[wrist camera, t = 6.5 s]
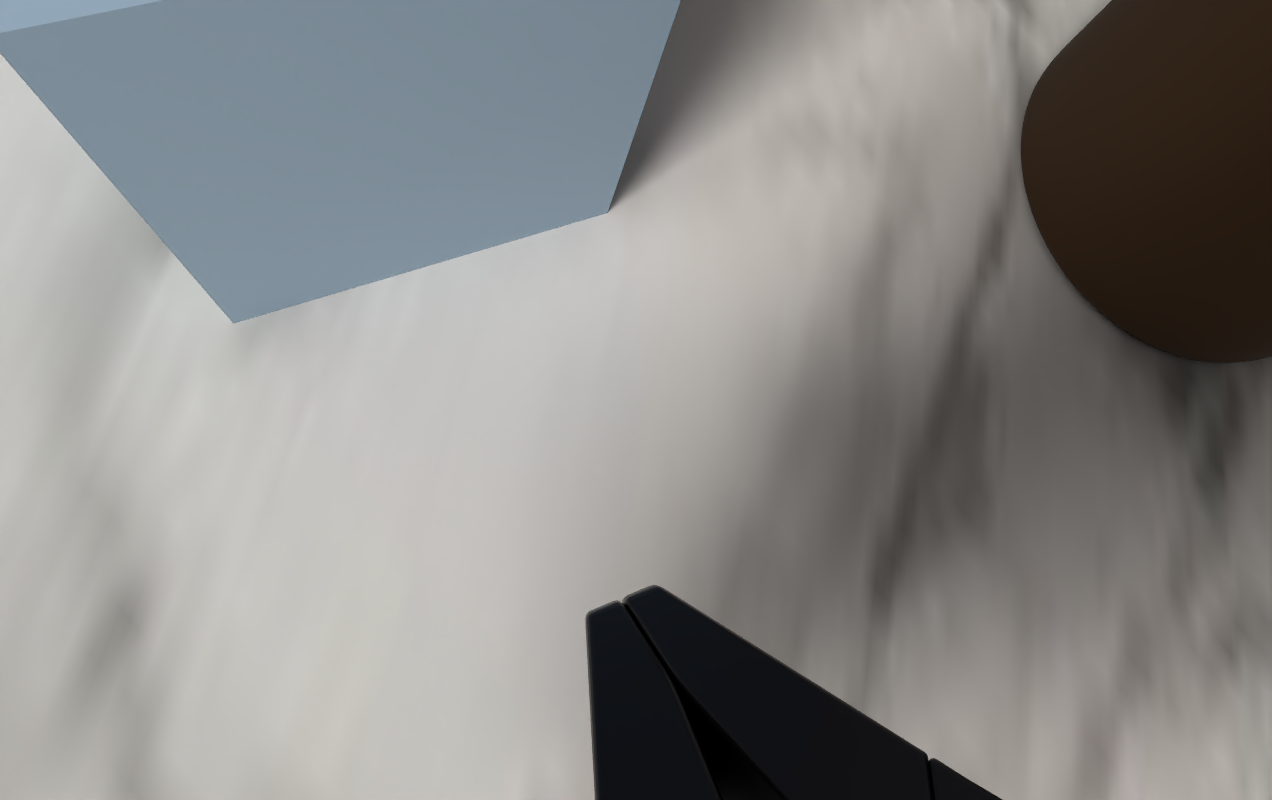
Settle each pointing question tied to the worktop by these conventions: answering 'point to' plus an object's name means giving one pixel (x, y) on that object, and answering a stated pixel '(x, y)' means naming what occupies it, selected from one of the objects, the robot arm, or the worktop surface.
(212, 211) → the slate block
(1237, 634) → the worktop surface
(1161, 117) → the olive oil
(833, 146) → the worktop surface
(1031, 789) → the worktop surface
